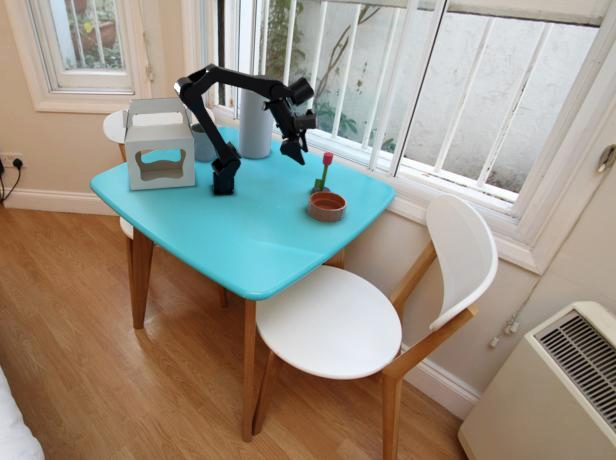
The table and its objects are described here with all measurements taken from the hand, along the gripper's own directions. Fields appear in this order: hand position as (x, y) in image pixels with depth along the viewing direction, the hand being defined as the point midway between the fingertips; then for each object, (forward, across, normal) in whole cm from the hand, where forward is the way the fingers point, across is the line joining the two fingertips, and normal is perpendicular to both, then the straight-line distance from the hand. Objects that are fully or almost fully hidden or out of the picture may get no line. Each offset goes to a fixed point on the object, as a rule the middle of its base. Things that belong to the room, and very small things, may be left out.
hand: (305, 158), depth 120 cm
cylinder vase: (-2, +22, +23) cm, 32 cm away
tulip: (+12, -3, 0) cm, 13 cm away
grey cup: (-11, +12, +38) cm, 42 cm away
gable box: (-16, -9, +45) cm, 49 cm away
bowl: (+13, -14, -2) cm, 20 cm away
